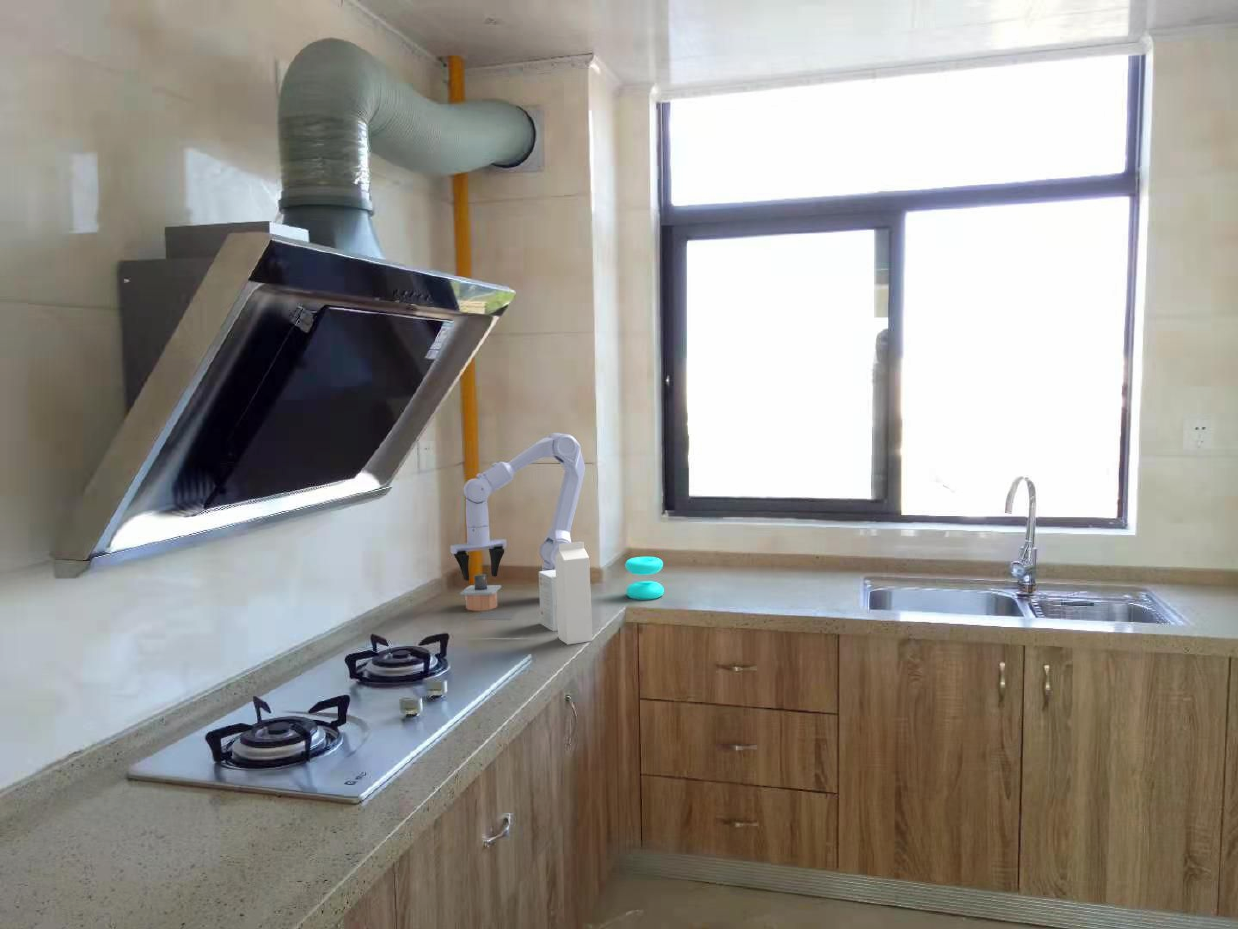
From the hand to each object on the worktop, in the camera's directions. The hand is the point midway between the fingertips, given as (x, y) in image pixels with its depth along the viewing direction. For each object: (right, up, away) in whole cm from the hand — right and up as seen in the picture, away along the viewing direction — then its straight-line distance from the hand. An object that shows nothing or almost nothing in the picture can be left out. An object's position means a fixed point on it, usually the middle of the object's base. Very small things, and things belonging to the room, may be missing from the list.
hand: (480, 578), depth 244 cm
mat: (+5, -9, -9) cm, 13 cm away
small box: (+21, -9, -20) cm, 31 cm away
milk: (+26, -10, -32) cm, 43 cm away
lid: (0, -3, 0) cm, 3 cm away
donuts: (+43, -6, +8) cm, 44 cm away
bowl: (0, -8, +1) cm, 8 cm away
